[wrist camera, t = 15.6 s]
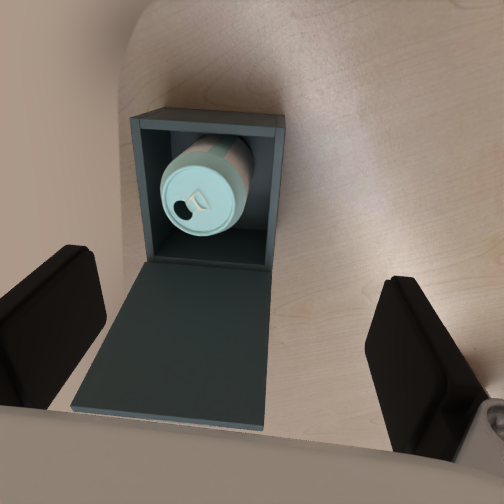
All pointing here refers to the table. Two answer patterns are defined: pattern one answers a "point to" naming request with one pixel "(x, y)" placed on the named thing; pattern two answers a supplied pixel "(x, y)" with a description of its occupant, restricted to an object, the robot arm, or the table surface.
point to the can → (208, 184)
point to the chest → (258, 200)
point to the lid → (185, 349)
